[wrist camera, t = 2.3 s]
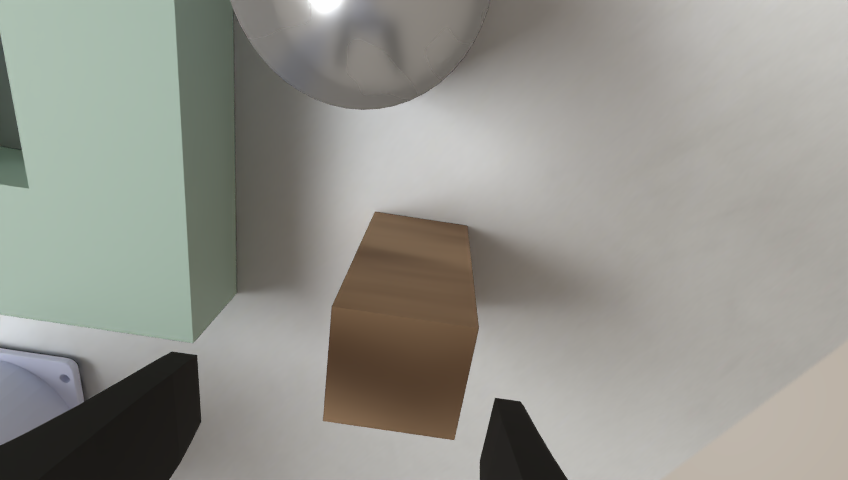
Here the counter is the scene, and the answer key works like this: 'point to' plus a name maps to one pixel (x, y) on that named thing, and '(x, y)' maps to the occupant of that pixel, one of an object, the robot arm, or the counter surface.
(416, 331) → the walnut peg
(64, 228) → the socket block
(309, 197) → the counter surface
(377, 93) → the steel peg
